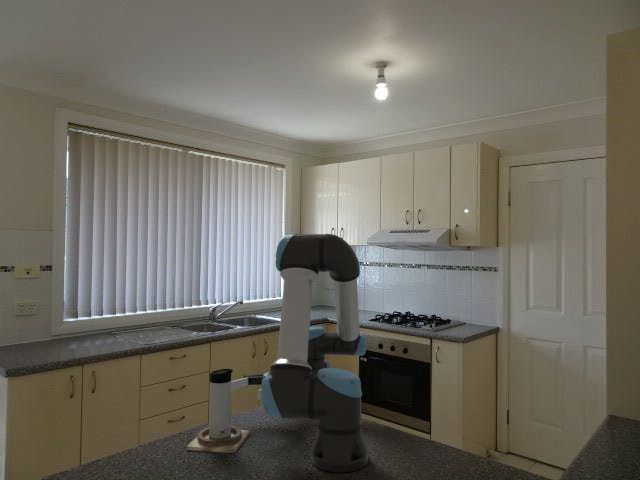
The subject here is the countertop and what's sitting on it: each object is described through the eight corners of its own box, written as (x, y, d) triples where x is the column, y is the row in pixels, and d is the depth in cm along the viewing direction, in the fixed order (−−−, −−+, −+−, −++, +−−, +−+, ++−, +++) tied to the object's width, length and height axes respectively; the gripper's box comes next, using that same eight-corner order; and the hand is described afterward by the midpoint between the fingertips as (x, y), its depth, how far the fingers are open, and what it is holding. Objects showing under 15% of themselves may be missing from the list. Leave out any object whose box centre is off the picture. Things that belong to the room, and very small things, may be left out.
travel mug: (227, 443, 134) (228, 372, 135) (205, 441, 135) (206, 371, 136) (235, 434, 140) (235, 367, 141) (213, 433, 141) (214, 366, 142)
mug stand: (249, 433, 144) (249, 425, 144) (234, 453, 130) (234, 443, 130) (206, 431, 146) (206, 423, 146) (186, 449, 132) (186, 440, 132)
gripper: (321, 395, 151) (271, 412, 136) (270, 381, 168) (220, 394, 153) (321, 372, 152) (271, 385, 136) (270, 360, 169) (220, 370, 153)
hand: (244, 390), depth 144 cm, fingers open, 13 cm apart
